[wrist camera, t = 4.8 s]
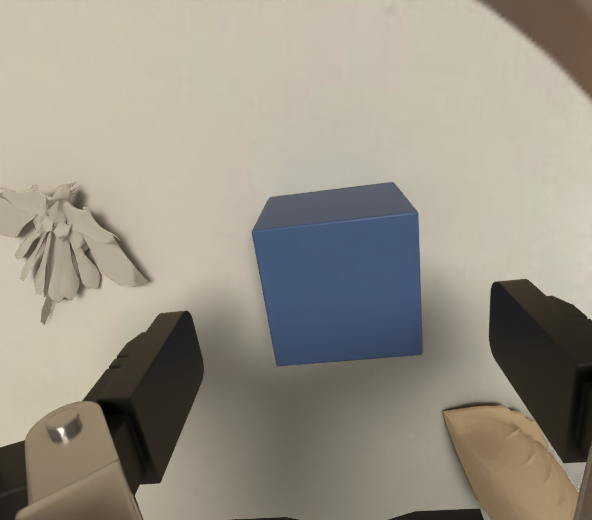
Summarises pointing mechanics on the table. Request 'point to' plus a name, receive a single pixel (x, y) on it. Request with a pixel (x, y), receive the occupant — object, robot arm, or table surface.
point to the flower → (63, 244)
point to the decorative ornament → (510, 465)
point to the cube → (341, 274)
